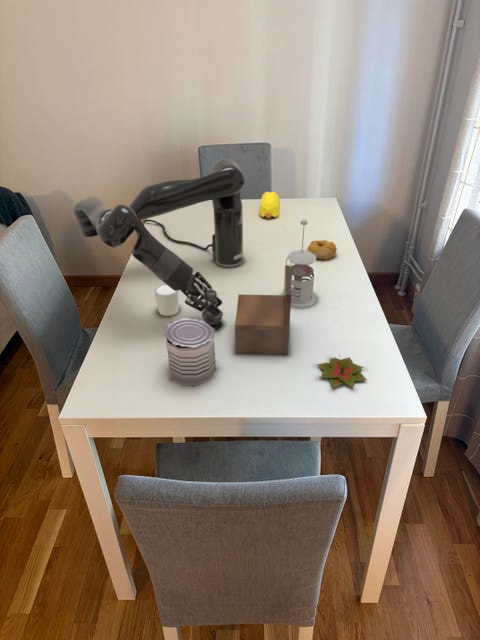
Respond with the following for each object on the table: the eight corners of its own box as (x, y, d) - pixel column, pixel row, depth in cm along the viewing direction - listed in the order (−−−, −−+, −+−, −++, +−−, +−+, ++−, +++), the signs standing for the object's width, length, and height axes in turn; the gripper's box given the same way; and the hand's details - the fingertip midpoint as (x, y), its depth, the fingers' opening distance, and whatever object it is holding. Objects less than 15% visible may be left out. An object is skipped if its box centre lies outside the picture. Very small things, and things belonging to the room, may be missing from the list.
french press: (294, 311, 139) (298, 230, 124) (273, 292, 147) (275, 214, 133) (322, 302, 142) (330, 222, 128) (300, 284, 151) (305, 207, 136)
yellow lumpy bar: (258, 220, 191) (278, 220, 191) (258, 204, 187) (278, 204, 187) (261, 203, 206) (279, 203, 205) (261, 187, 202) (280, 188, 201)
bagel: (334, 247, 171) (336, 234, 168) (336, 262, 162) (338, 249, 159) (306, 246, 172) (307, 234, 169) (307, 261, 163) (308, 248, 160)
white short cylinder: (184, 306, 141) (182, 285, 137) (174, 319, 136) (172, 297, 132) (163, 302, 143) (160, 281, 139) (152, 314, 138) (149, 293, 134)
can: (172, 355, 123) (168, 316, 116) (217, 355, 123) (215, 316, 116) (165, 385, 114) (160, 345, 107) (214, 386, 113) (212, 345, 106)
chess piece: (220, 332, 131) (219, 294, 124) (199, 329, 132) (196, 292, 125) (225, 319, 135) (224, 282, 129) (205, 317, 136) (202, 280, 130)
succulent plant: (376, 385, 113) (379, 370, 110) (329, 396, 110) (331, 381, 108) (352, 354, 122) (354, 339, 120) (308, 363, 120) (309, 348, 117)
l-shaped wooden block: (235, 353, 123) (234, 293, 113) (239, 321, 135) (238, 264, 124) (288, 355, 122) (291, 294, 112) (286, 322, 134) (289, 265, 124)
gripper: (166, 264, 132) (212, 303, 138) (155, 292, 120) (207, 332, 126) (184, 247, 128) (231, 287, 135) (175, 273, 117) (226, 316, 123)
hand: (219, 309), depth 130 cm, fingers open, 4 cm apart
